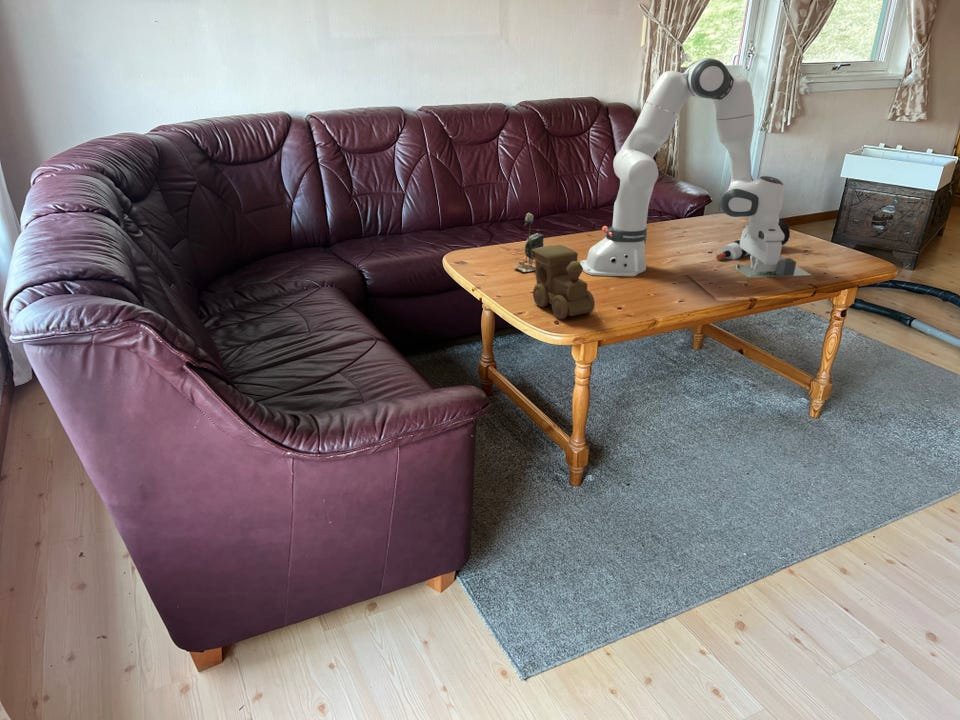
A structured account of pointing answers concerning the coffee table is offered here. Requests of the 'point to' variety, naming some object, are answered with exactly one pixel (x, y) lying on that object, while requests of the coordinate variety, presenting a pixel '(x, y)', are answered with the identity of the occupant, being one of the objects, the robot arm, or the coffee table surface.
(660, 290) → the coffee table surface
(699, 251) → the coffee table surface
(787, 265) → the plug
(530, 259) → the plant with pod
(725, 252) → the cable
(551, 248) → the wooden toy train
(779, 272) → the housing
